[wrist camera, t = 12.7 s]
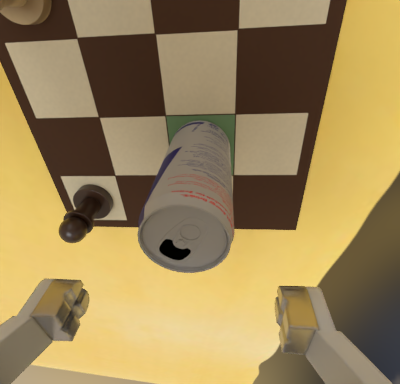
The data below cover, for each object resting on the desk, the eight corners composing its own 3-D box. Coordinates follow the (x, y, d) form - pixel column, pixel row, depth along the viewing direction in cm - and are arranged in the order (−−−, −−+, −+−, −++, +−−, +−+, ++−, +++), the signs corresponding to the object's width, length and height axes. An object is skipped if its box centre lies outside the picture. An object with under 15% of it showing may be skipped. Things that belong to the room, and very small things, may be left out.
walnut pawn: (72, 183, 27) (36, 221, 22) (108, 184, 26) (81, 222, 21) (83, 213, 29) (54, 253, 24) (117, 213, 28) (94, 254, 23)
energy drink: (161, 154, 24) (118, 249, 14) (191, 106, 21) (162, 182, 11) (208, 182, 25) (199, 286, 15) (242, 140, 22) (256, 235, 13)
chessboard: (-65, -87, 16) (-66, -88, 16) (376, -135, 13) (377, -137, 13) (73, 225, 30) (72, 226, 30) (295, 229, 28) (295, 230, 28)
